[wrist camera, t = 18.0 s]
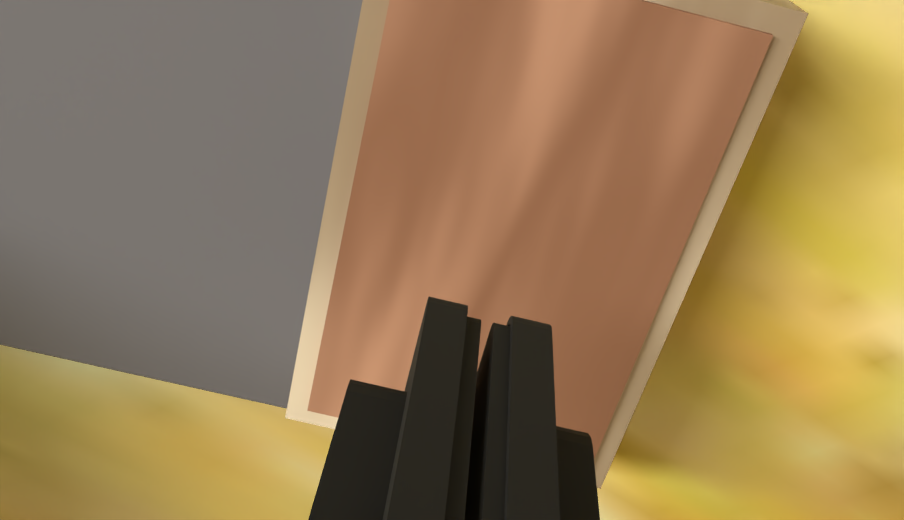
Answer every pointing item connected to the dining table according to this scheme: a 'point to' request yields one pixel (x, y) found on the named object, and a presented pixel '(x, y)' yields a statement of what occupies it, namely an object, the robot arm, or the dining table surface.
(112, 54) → the mat
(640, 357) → the brown wooden block
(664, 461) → the dining table surface
